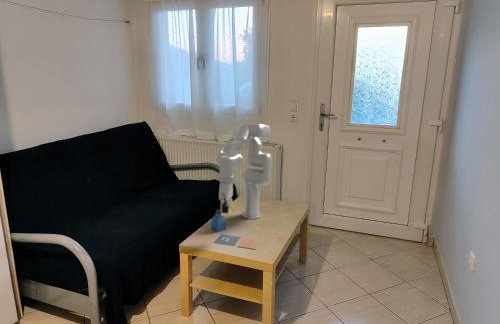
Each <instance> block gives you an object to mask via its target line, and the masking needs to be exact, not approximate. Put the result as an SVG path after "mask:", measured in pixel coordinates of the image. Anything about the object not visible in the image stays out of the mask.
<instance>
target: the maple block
mask: <svg viewBox="0 0 500 324" xmlns="http://www.w3.org/2000/svg"><path fill="white" fill-rule="evenodd" d="M224 200H226V199H224ZM224 202H225V203H226V201H224ZM227 206H228V213H223V212H222V204H221V203H220V210H221V215H231V214H232V213H233V199H232V198H231V199H229V200H228V201H227Z"/></svg>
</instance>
